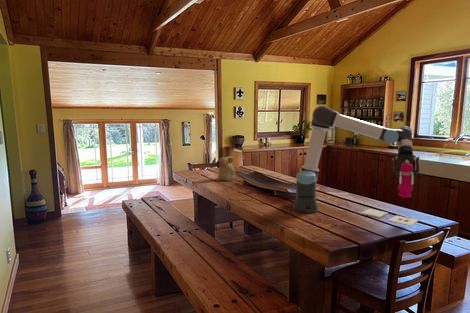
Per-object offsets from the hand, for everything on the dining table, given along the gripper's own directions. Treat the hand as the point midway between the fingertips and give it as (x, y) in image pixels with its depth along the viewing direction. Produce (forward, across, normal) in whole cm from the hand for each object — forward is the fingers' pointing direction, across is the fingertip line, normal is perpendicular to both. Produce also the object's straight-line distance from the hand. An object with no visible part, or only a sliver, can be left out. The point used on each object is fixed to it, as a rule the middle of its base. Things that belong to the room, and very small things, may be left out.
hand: (406, 182), depth 171 cm
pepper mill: (+3, 0, -9) cm, 9 cm away
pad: (+9, +14, -23) cm, 28 cm away
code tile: (+13, 0, -18) cm, 23 cm away
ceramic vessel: (-35, +137, -67) cm, 156 cm away
